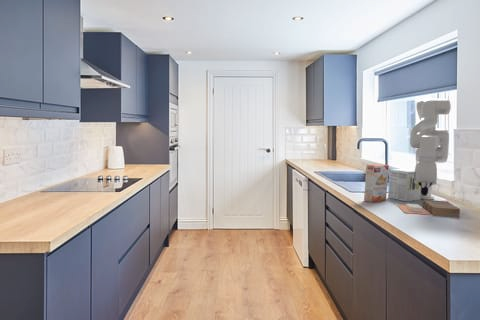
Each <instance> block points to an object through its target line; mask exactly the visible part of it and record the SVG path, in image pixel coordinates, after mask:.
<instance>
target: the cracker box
mask: <svg viewBox="0 0 480 320" xmlns="http://www.w3.org/2000/svg"><path fill="white" fill-rule="evenodd" d="M389 171H390V167H389V164H381V163H380V164H378V163H377V164H366V168H365V178H364V180H365V181H364V194H363V195H364V197H363V201H364V202H367V203H368V202H370V203H376V202H383V201H387V196H388V183H389Z"/></svg>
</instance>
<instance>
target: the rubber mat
mask: <svg viewBox="0 0 480 320" xmlns="http://www.w3.org/2000/svg"><path fill="white" fill-rule="evenodd" d="M396 206H397V207H398V209H400V210H401V212H403V214H412V215H425V216H430V215H431V213H429V212H428V211H427V210H426V209H424V208H423V212H418V211H409V210H408V209H407V208H406V204H396Z"/></svg>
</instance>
